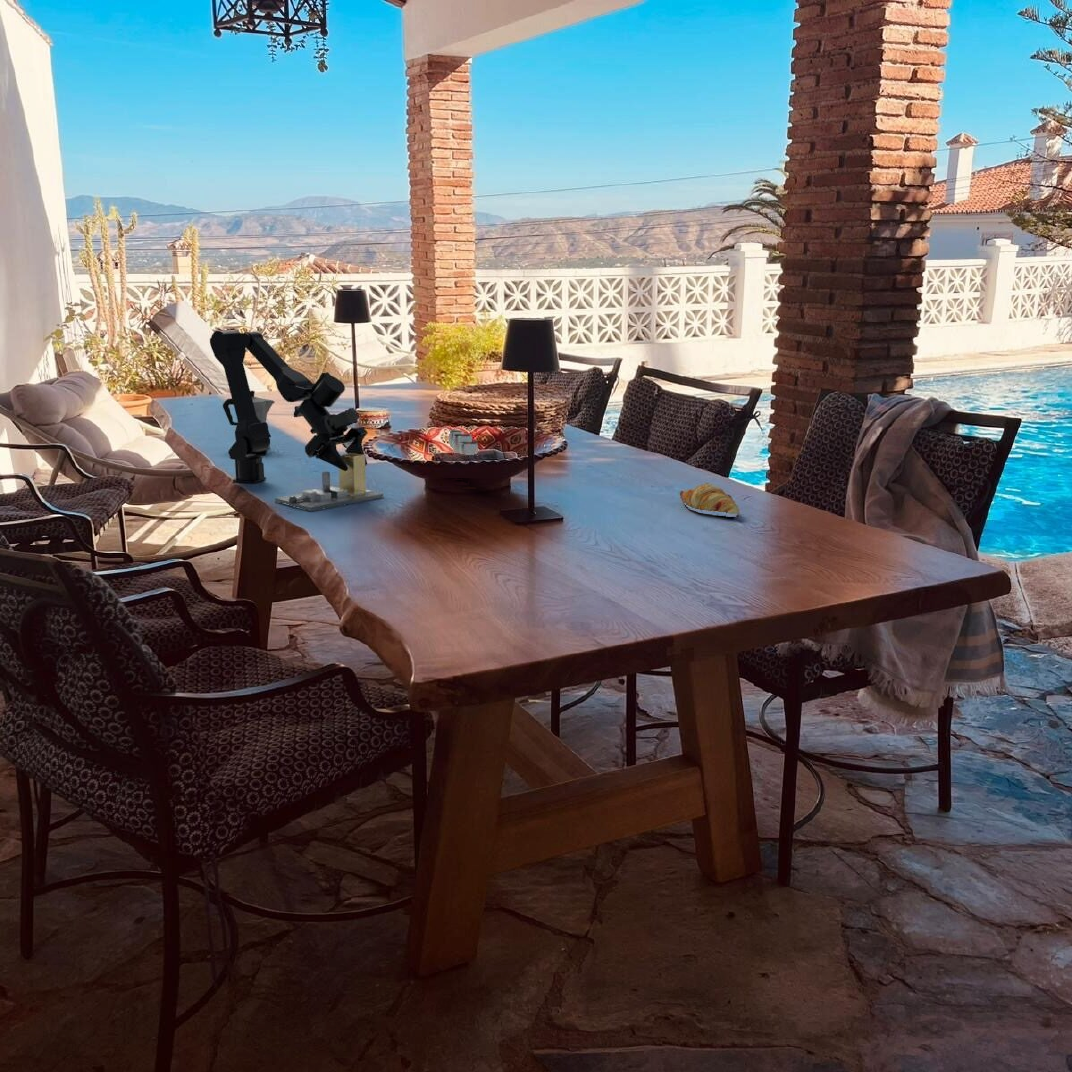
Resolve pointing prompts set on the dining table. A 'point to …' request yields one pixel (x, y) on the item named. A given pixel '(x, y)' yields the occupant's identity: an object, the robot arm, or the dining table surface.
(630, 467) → the dining table surface
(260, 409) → the coffeepot
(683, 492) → the croissant
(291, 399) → the robot arm
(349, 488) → the sleeve
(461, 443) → the goblet set
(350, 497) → the grey base plate
